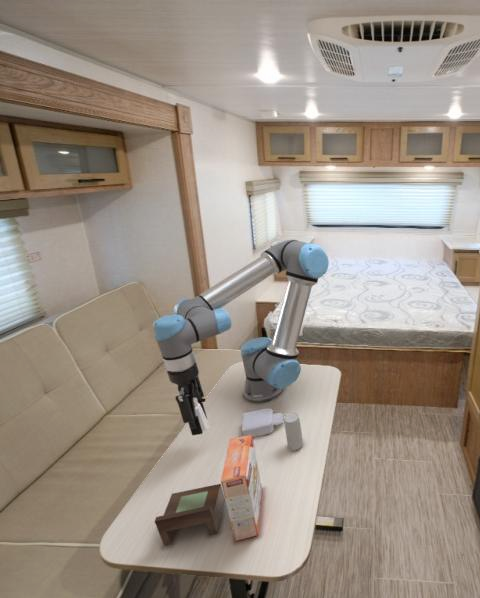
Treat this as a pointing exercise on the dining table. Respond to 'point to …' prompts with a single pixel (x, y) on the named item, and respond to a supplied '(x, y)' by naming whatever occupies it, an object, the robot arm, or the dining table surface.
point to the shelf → (191, 511)
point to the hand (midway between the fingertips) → (200, 426)
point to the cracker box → (242, 487)
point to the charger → (260, 422)
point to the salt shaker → (200, 415)
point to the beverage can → (293, 431)
